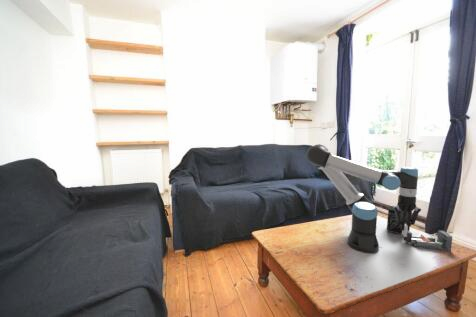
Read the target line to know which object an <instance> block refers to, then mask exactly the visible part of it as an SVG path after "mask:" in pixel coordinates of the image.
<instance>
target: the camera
mask: <svg viewBox="0 0 476 317" xmlns="http://www.w3.org/2000/svg"><path fill="white" fill-rule="evenodd" d="M387 209H388V210H387V224H386V231H387V232H390V233H395V234H399V235H402V230H401V228H400V227H401V224H399V223H398V222H397V220H396V215H395V210H394V209H393V205H391V206H390V205H389V206H388V208H387ZM398 211H399V215H400V219H401V209H400V208H399V209H398ZM405 224H406V217H405Z"/></svg>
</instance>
